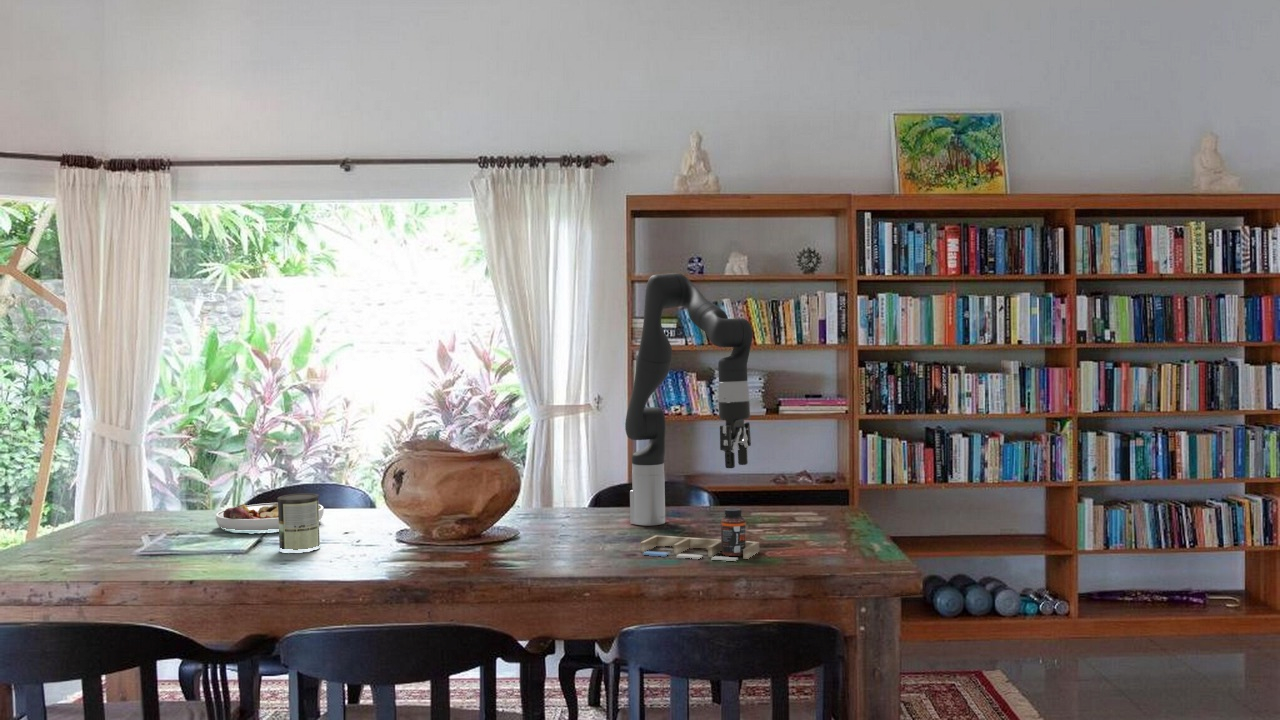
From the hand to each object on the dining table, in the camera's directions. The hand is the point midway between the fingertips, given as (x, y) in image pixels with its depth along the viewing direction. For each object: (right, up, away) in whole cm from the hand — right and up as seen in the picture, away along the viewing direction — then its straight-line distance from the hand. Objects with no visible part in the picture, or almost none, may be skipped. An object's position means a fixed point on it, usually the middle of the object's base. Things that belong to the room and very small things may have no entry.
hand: (736, 466), depth 265 cm
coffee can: (-112, -24, +18) cm, 116 cm away
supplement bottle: (-1, -22, +1) cm, 22 cm away
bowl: (-132, -23, +55) cm, 145 cm away
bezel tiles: (-12, -22, -1) cm, 25 cm away
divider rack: (-9, -22, +5) cm, 24 cm away
